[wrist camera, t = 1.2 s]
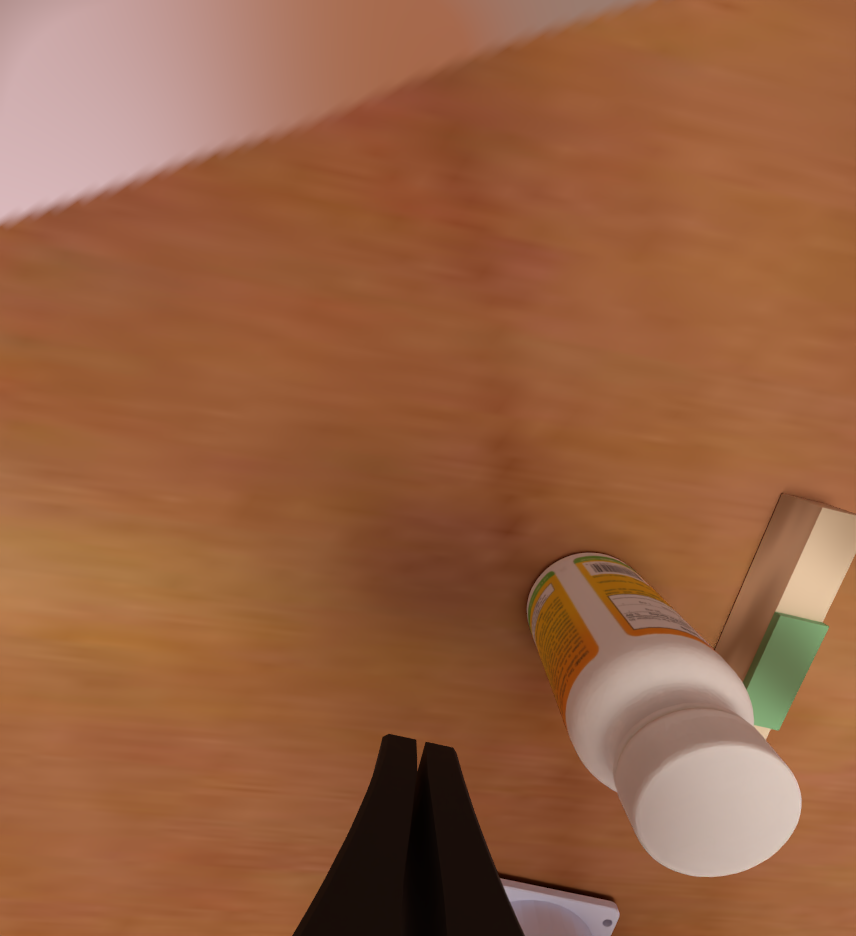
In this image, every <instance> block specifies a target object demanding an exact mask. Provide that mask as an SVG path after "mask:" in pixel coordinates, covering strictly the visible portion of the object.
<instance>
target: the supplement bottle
mask: <svg viewBox="0 0 856 936" xmlns="http://www.w3.org/2000/svg"><path fill="white" fill-rule="evenodd" d="M527 619H528V624H529V627H530V631H531V634H532V636H533V640H534V642H535V645H536V647H537V650H538V653H539V655H540V658H541V661H542V664H543V666H544V669H545V672H546V675H547V677H548V680H549V682H550V685H551V688H552V691H553V693H554V696H555V699H556V702H557V704H558V707H559V710H560V713H561V715H562V718H563V721H564V724H565V727H566V729H567V732H568V734H569V737H570V739H571V742H572V743H573V746H574V748H575V750H576V752H577V754H578V756H579V758H580V759H581V761H582V762H583V764H584V765H585V767H586V768H587V769H588V770H589V771H590V772H591V773H592V774H593V775H594V776H595V777H596V778H597V779H598V780H599V781H600V782H602V783H603V784H605V785H606V786H607V787H609V788H610V789H612V790H614V791H616V792H617V793H618V796H619V799H620V801H621V804H622V806H623V808H624V810H625V812H626V814H627V816H628V818H629V820H630V823H631V825H632V827H633V829H634V831H635V834H636V836H637V838H638V839H639V841H640V843H641V844H642V846H643V847H644V849H645V850H646V851H647V852H648V853H649V854H650V855H651V856H652V857H653V859H655V860H656V861H657V862H659V863H660V864H662V865H663V866H665V867H667V868H669V869H671V870H674V871H676V872H679V873H683V874H686V875H690V876H698V877H716V876H725V875H730V874H735V873H739V872H742V871H745V870H748V869H750V868H752V867H754V866H756V865H758V864H760V863H761V862H763V861H765V860H767V859H768V858H769V857H771V856H772V855H773V854H775V853H776V852H777V851H778V850H779V849H780V848H781V847H782V846H783V845H784V844H785V843H786V842H787V840H788V839H789V837H790V836H791V835H792V833H793V831H794V829H795V827H796V825H797V823H798V820H799V817H800V812H801V794H800V789H799V786H798V783H797V781H796V779H795V777H794V775H793V773H792V771H791V770H790V769H789V767H788V766H787V765H786V764H785V762H784V761H783V760H782V759H781V758H780V756H779V755H778V754H777V753H776V752H775V751H774V749H773V748H772V747H771V746H770V745H769V744H768V742H767V741H766V740H765V739H764V737H763V736H762V735H761V734H760V733H759V731H758V730H757V729H756V728H755V727H754V715H753V707H752V704H751V700H750V697H749V695H748V692H747V690H746V688H745V686H744V684H743V682H742V681H741V679H740V678H739V677H738V675H737V674H736V673H735V671H734V670H733V669H732V668H731V667H730V666H729V665H728V663H727V662H726V661H725V660H724V659H723V658H722V657H721V656H720V655H719V654H718V653H717V652H716V651H715V650H714V649H713V648H712V647H711V646H710V645H709V644H708V643H707V642H706V641H705V640H704V639H703V638H702V637H701V636H700V635H699V634H698V633H697V632H696V631H695V630H694V629H693V628H692V627H691V626H690V625H689V624H688V623H687V622H686V621H685V620H684V619H683V618H682V617H681V616H680V615H679V614H678V613H677V612H676V611H675V610H674V609H673V608H672V607H671V606H670V605H669V604H668V603H667V602H666V601H665V600H664V599H663V598H662V597H661V596H660V595H659V594H658V593H657V592H656V591H655V590H654V589H653V588H652V587H651V586H650V585H649V584H648V583H647V582H646V581H645V580H644V579H643V578H642V577H641V576H640V575H639V574H638V573H637V572H635V571H634V570H633V569H632V568H631V567H629V566H628V565H627V564H625V563H624V562H622V561H620V560H619V559H617V558H614V557H612V556H609V555H605V554H600V553H579V554H574V555H570V556H567V557H565V558H563V559H561V560H559V561H557V562H555V563H554V564H552V565H551V566H550V567H548V568H547V569H546V570H545V571H544V572H543V573H542V574H541V575H540V576H539V578H538V579H537V580H536V582H535V584H534V585H533V587H532V589H531V591H530V594H529V597H528V602H527Z"/></svg>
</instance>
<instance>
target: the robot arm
mask: <svg viewBox="0 0 856 936" xmlns="http://www.w3.org/2000/svg"><path fill="white" fill-rule="evenodd" d="M619 915H620V913H619V910H618V908H617V905H616V904H615V903H614V902H612V901H609V900H604V899H599V898H594V897H589V896H584V895H580V894H575V893H570V892H565V891H560V890H555V889H551V888H546V887H541V886H536V885H531V884H526V883H521V882H517V881H512V880H507V879H502V878H500V877H499V875H498V872H497V870H496V867H495V865H494V862H493V860H492V857H491V854H490V852H489V849H488V847H487V844H486V841H485V839H484V836H483V834H482V831H481V828H480V825H479V823H478V820H477V817H476V814H475V811H474V808H473V805H472V802H471V799H470V797H469V793H468V790H467V787H466V784H465V781H464V778H463V774H462V771H461V768H460V764H459V761H458V757H457V753H456V752H455V750H454V748H452V747H448V746H443V745H438V744H434V743H429V742H426V743H425V746H424V750H423V754H422V757H421V761H420V764H419V768H418V771H417V746H416V740H415V739H410V738H406V737H401V736H397V735H392V734H388V735H386V736H384V737H383V738H382V742H381V746H380V750H379V754H378V758H377V761H376V765H375V769H374V773H373V777H372V779H371V782H370V785H369V787H368V790H367V792H366V795H365V797H364V799H363V802H362V804H361V806H360V808H359V811H358V813H357V815H356V817H355V820H354V822H353V824H352V827H351V829H350V831H349V833H348V835H347V837H346V839H345V841H344V843H343V845H342V847H341V849H340V851H339V852H338V854H337V856H336V858H335V860H334V862H333V864H332V866H331V868H330V870H329V872H328V874H327V876H326V878H325V880H324V881H323V883H322V885H321V887H320V889H319V890H318V892H317V894H316V896H315V898H314V899H313V901H312V903H311V905H310V906H309V908H308V910H307V912H306V913H305V915H304V917H303V918H302V920H301V922H300V924H299V925H298V927H297V929H296V930H295V932H294V934H293V935H292V936H611V934H612V932H613V930H614V928H615V925H616V923H617V921H618V919H619Z"/></svg>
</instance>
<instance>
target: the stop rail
mask: <svg viewBox="0 0 856 936" xmlns="http://www.w3.org/2000/svg"><path fill="white" fill-rule="evenodd" d="M855 554H856V514H855V513H852V512H849V511H846V510H843V509H840V508H837V507H834V506H831V505H828V504H825V503H820V502H816V501H812V500H808V499H804V498H800V497H796V496H791V495H787V494H783V493H782V495H781V497H780V499H779V502H778V504H777V506H776V509H775V511H774V513H773V516H772V518H771V520H770V523H769V525H768V527H767V530H766V532H765V534H764V537H763V539H762V541H761V544H760V546H759V548H758V551H757V553H756V555H755V558H754V560H753V562H752V565H751V567H750V569H749V571H748V574H747V576H746V578H745V581H744V583H743V585H742V588H741V590H740V592H739V595H738V597H737V599H736V602H735V604H734V606H733V609H732V611H731V613H730V616H729V618H728V620H727V623H726V625H725V627H724V630H723V632H722V634H721V637H720V639H719V641H718V644H717V646H716V648H715V651H716V652H717V653H718V654H719V655H720V656H721V657H722V658H723V659H724V660H725V661H726V662H727V663H728V665H729V666H730V667H731V668H732V669H733V670H734V671H735V673H736V674H737V675H738V677H739V678H740V679H741V681H742V682H743V684H744V686H745V688H746V690H747V692H748V695H749V697H750V700H751V704H752V707H753V715H754V727H755V728H756V729H757V730H758V731H759V733H760V734H761V735H762V736H763V737H764V739H765V740H766V738H767V736H768V734H769V732H770V730H771V729H774V730H779V729H780V727H781V725H782V723H783V721H784V719H785V717H786V715H787V712H788V710H789V708H790V706H791V704H792V702H793V700H794V698H795V696H796V694H797V692H798V690H799V688H800V686H801V684H802V682H803V680H804V678H805V676H806V673H807V671H808V669H809V667H810V665H811V663H812V661H813V659H814V657H815V655H816V653H817V651H818V649H819V647H820V645H821V643H822V641H823V639H824V637H825V635H826V632H827V630H828V628H829V626H827V625H826V624H824V623H822V622H823V620H824V618H825V616H826V614H827V612H828V610H829V608H830V605H831V603H832V601H833V599H834V597H835V595H836V593H837V591H838V589H839V587H840V585H841V583H842V581H843V579H844V576H845V574H846V572H847V570H848V568H849V566H850V564H851V562H852V560H853V558H854V556H855Z"/></svg>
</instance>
